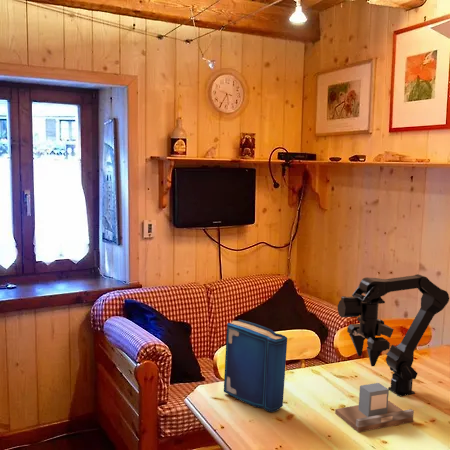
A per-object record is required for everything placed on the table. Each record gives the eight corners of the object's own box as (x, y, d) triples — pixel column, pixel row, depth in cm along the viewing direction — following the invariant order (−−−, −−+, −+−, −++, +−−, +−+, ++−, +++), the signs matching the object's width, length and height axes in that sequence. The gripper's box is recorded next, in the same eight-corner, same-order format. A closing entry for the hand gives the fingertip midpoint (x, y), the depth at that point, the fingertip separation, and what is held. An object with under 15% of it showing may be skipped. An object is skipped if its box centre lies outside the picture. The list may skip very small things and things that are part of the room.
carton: (358, 410, 162) (359, 385, 161) (377, 406, 164) (378, 382, 163) (368, 417, 157) (370, 392, 156) (387, 414, 160) (389, 389, 159)
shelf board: (387, 404, 170) (388, 394, 169) (413, 421, 158) (414, 411, 158) (335, 413, 162) (335, 402, 162) (358, 432, 151) (358, 421, 151)
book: (287, 409, 165) (290, 333, 162) (273, 416, 159) (276, 338, 156) (236, 387, 179) (238, 317, 176) (222, 394, 174) (224, 322, 171)
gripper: (406, 323, 166) (402, 370, 168) (376, 307, 184) (374, 349, 186) (374, 325, 163) (371, 372, 165) (347, 308, 181) (345, 351, 183)
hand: (366, 360), depth 175 cm, fingers open, 9 cm apart
